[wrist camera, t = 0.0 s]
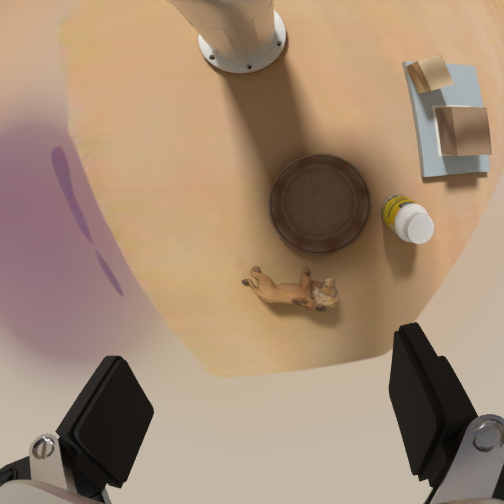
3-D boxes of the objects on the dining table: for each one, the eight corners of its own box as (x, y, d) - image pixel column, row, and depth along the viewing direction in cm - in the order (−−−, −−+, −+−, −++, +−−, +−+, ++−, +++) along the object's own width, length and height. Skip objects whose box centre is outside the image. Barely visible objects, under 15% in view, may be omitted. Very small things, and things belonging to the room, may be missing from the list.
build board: (402, 62, 34) (405, 61, 33) (471, 67, 32) (475, 66, 31) (421, 176, 40) (424, 177, 39) (485, 170, 38) (490, 171, 37)
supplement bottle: (398, 186, 41) (426, 200, 32) (416, 213, 43) (445, 232, 33) (373, 209, 43) (395, 227, 34) (392, 234, 44) (416, 258, 35)
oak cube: (405, 66, 33) (417, 60, 29) (427, 60, 32) (441, 54, 28) (418, 94, 35) (431, 90, 31) (439, 87, 34) (454, 83, 29)
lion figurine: (332, 258, 47) (342, 285, 38) (333, 288, 49) (342, 319, 40) (240, 266, 48) (231, 293, 40) (244, 295, 50) (237, 326, 42)
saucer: (312, 267, 48) (313, 274, 45) (248, 198, 45) (246, 201, 42) (384, 208, 43) (390, 213, 41) (323, 132, 40) (326, 131, 38)
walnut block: (435, 108, 35) (451, 106, 30) (468, 108, 34) (486, 108, 29) (441, 153, 37) (457, 156, 33) (474, 151, 36) (491, 154, 32)
